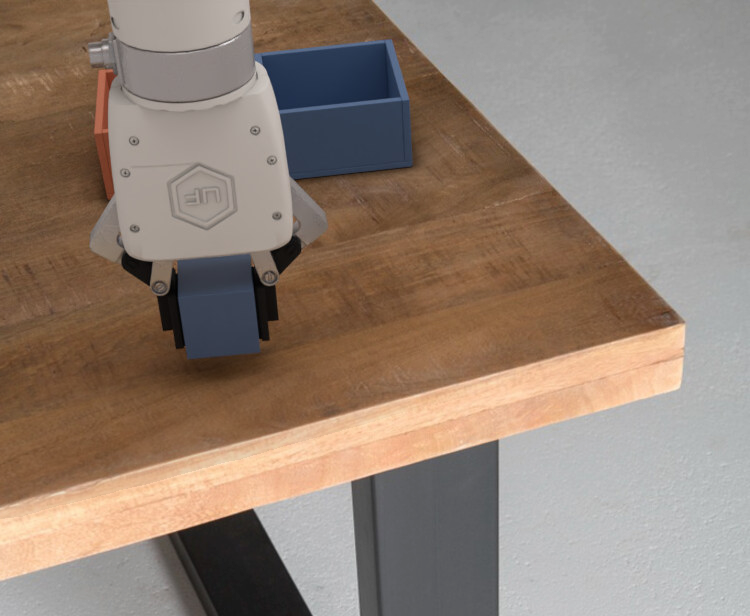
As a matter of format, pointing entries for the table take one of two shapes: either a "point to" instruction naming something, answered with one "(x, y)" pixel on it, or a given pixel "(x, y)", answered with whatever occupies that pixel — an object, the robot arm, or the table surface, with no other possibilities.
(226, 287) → the blue block
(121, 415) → the table surface
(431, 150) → the table surface
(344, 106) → the blue bin
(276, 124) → the robot arm
